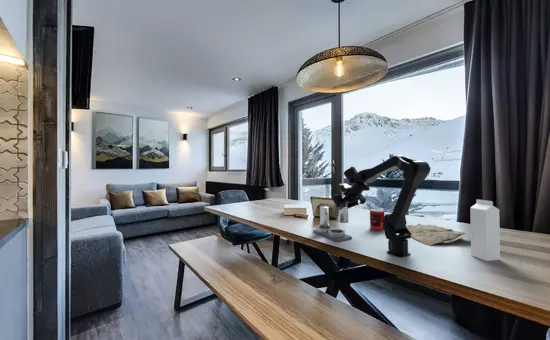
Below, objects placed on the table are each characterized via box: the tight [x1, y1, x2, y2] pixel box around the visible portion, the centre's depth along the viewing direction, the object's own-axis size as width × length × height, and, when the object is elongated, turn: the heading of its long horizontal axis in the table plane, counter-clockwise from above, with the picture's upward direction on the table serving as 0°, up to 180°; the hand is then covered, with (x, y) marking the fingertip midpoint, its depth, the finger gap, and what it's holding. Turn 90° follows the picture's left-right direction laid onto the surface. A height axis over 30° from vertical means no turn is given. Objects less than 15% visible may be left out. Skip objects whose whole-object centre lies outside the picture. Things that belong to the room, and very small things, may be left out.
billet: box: [338, 196, 349, 224], centre depth 125 cm, size 5×5×13 cm
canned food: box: [369, 208, 386, 232], centre depth 134 cm, size 8×8×11 cm
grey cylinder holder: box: [312, 205, 353, 243], centre depth 124 cm, size 20×9×14 cm, turn 27°
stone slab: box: [406, 223, 471, 247], centre depth 119 cm, size 33×27×5 cm
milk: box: [469, 198, 501, 262], centre depth 90 cm, size 6×6×22 cm
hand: (341, 209), depth 127 cm, fingers closed on billet, 5 cm apart
